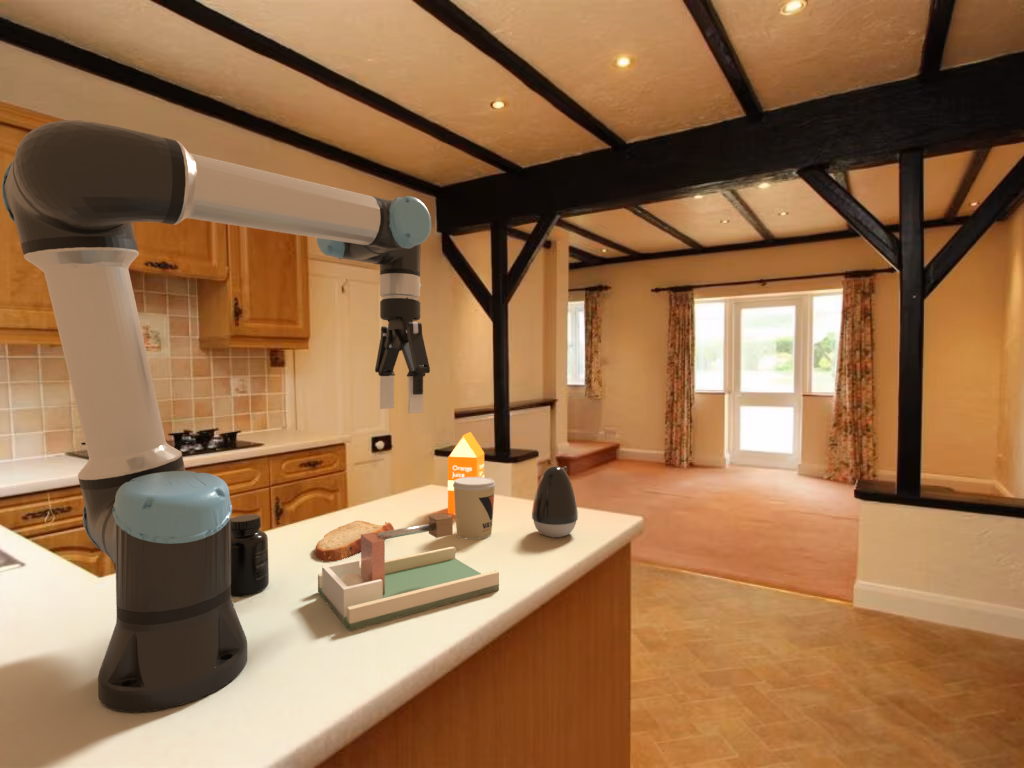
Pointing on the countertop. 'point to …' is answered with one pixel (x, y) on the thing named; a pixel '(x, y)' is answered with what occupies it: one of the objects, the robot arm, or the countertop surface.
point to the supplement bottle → (248, 556)
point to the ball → (352, 579)
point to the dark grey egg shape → (554, 503)
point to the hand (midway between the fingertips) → (400, 410)
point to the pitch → (402, 587)
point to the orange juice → (464, 464)
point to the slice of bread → (346, 540)
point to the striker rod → (376, 545)
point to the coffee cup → (474, 506)
